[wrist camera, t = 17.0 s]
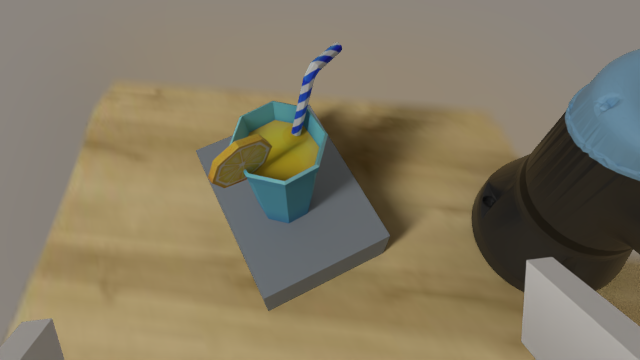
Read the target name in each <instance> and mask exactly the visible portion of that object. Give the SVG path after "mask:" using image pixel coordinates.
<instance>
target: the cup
mask: <svg viewBox="0 0 640 360" xmlns="http://www.w3.org/2000/svg"><path fill="white" fill-rule="evenodd" d="M341 50H342V46H341V45H340V44H339V43H336V42H335V43H334V44H333V45H332V46H330V47H329V48H328V49H327V50H326V51H324V52H323V53H322V54H321V55H320V56H318V57H317V58H316V59H315V60H313V61H312V62H311V64H310V65H309V67H308V69H307V72H306V74H305V76H304V78H303V83H302V87H301V92H300V96H299V100H298V105H297V106H296V105H291V104H286V103H281V102H276V101H271V102H269V103H267V104H265V105H263V106H261V107H259V108H257V109H255V110H253V111H251V112H248V113H246V114H244V115H242V116H240V118H239V121H238V123H237V126H236V129H235V131H234V134H233V137H232V139H231V142H230V144H229V146H228V147H227V148H226V149H225V150H224V151H223V152H222V153H221V154H219V155H218V156H217V157H216V158H215V159H214V160H213V162H212V165H211V168H210V172H209V175H208V179H209V180H210V181H211V183H212V184H215V185H217V186H220V187H223V188H227V187H229V186H232V185H234V184H237V183H239V182H242V181H244V180H246V179H247V180H248V182H249V184H250V186H251V188H252V190H253V192H254V194H255V196H256V199H257V201H258V203H259V204H260V206H261V208H262V209H263V211H264V212H265V214H266V216H267V217H268V219H271V220H276V221H280V222H285V223H291V222H293V221H295V220H296V219H298V218H300V217H302V216H303V215H305V214H307V213H308V210H309V206H310V202H311V198H312V195H313V190H314V184H315V179H316V174H317V172H318V169H319V166H320V162H321V158H322V155H323V151H324V147H325V143H326V140H327V136H328V134H327V133H326V131H325V130H324V128H323V127H322V126H321V124H320V123H319V122H318V120H317V119H316V118H315V116H314V115H313V114H312V112H311V111H310V110H309V108H307V106H308V102H309V98H310V94H311V90H312V86H313V82H314V79H315V76H316V75H317V73H318V72H319V70H321V69H322V68H323V67H324V66H325V65H326V64H327V63H328V62H330V61H331V60H332V59H333V58H334V57H335V56H336V55H337V54H339V53H340V52H341Z"/></svg>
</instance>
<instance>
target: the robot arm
mask: <svg viewBox="0 0 640 360" xmlns="http://www.w3.org/2000/svg"><path fill="white" fill-rule="evenodd" d="M472 228H473V233H474V237H475V240H476V243H477V245H478V247H479V249H480V251H481V253H482V255H483V257H484V258H485V260H486V261H487V262H488V264H489V265H490V266H491V267H492V268H493V270H494V271H495V272H496V273H497V274H498V275H499V276H501V277H502V278H503V279H504V280H505V281H507V282H508V283H509V284H511V285H512V286H514V287H516V288H517V289H519V290H521V291H523V292H524V308H523V324H522V340H521V342H522V343H523V344H524V345H525V346H526V348H527V349H528V350H529V351H530V353H531V354H532V355H533V356H534V358H535V359H536V360H640V326H638V325H637V324H636V323H635V322H633V321H632V320H631V319H630V318H628V317H627V316H626V315H625V314H623V313H622V312H621V311H620V310H618V309H617V308H616V307H615V306H613V305H612V304H611V303H610V302H608V301H607V300H606V299H605V298H603V297H602V296H601V295H599V294H598V293H597V292H596V291H597V290H599V289H601V288H602V287H604V286H605V285H607V284H608V283H609V282H611V281H612V280H613V279H614V278H615V277H616V276H617V275H618V273H619V272H620V271H621V269H622V267H623V266H624V264H625V262H626V261H627V259H628V257H629V255H630V254H631V252H632V250H633V249H634V250H635V251H636V252H638V253H639V254H640V49H638V50H635V51H632V52H629V53H627V54H624V55H622V56H620V57H619V58H617V59H615V60H613V61H612V62H610V63H609V64H608V65H607V66H605V67H604V68H603V69H602V70H601V71H600V73H598V75H596V77H595V78H594V79H593V80H592V81H591V82H590V83H589V84H588V85H586V86H585V87H583V88H582V89H581V90H580V91H578V92H577V94H575V96H574V97H573V98H572V100H571V101H570V102H569V106H568V108H567V110H566V112H565V113H564V114H563V115H562V117H561V118H560V119H559V120H558V122H557V123H556V124H555V125H554V127H553V128H552V129H551V130H550V131H549V132H548V134H547V135H546V136H545V137H544V138H543V140H542V141H541V142H540V143H539V144H538V146H537V147H536V148H535V149H534V151H533V152H532V153H531V154H529V155H527V156H524V157H522V158H520V159H517V160H515V161H513V162H510V163H508V164H506V165H504V166H503V167H501V168H500V169H498V170H497V171H496V172H495V173H493V174H492V175H491V176H490V178H489V179H488V180H487V181H486V183H485V184H484V185H483V187H482V188H481V190H480V191H479V193H478V195H477V197H476V199H475V202H474V205H473V210H472ZM0 360H64V357H63V353H62V350H61V347H60V343H59V340H58V337H57V333H56V330H55V327H54V323H53V320H52V318H51V319H43V320H35V321H26V322H22V323H21V324H20V325H19V326H18V327H17V329H16V330H15V331H14V332H13V333H12V334H11V336H10V337H9V338H8V339H7V340H6V341H5V342H4V344H3V345H2V346H1V347H0Z"/></svg>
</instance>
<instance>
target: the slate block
mask: <svg viewBox="0 0 640 360" xmlns="http://www.w3.org/2000/svg"><path fill="white" fill-rule="evenodd" d="M307 108H309V110H310V111H311V112H312V114H313V115H314V116H315V118H316V119H317V120H318V122H319V123H320V121H319V119H318V118H317V116H316V115H315V113H314V111H313V110H312V108H311V107H310V105H308V106H307ZM320 124H321V123H320ZM321 126H322V124H321ZM322 127H323V126H322ZM324 130H325V129H324ZM326 133H327V132H326ZM232 137H233V136H230V137H228V138H225V139H223V140H221V141H218V142H216V143H213V144H211V145H208V146H206V147H203V148H201V149H199V150H196V152H197V155H198V157H199V159H200V162H201V164H202V166H203V169H204V171H205V173H206V175H207V178H208V175H209V172H210V168H211V165H212V162H213V160H214V159H215V158H216V157H217V156H218V155H219V154H221V153H222V152H223V151H224V150H225V149H226V148H227V147H228V146H229V144H230V142H231V139H232ZM208 180H209V179H208ZM209 182H210V184H211V186H212V189H213V191H214V193H215V195H216V197H217V199H218V202H219V204H220V206H221V208H222V210H223V213H224V215H225V217H226V219H227V221H228V224H229V226H230V228H231V230H232V232H233V235H234V237H235V239H236V241H237V243H238V245H239V248H240V250H241V252H242V254H243V256H244V259H245V261H246V263H247V265H248V267H249V270H250V272H251V274H252V276H253V278H254V281H255V283H256V285H257V287H258V289H259V291H260V294H261V296H262V298H263V300H264V302H265V305H266V307H267V309H268V311H270V310H272V309H273V308H275V307H277V306H279V305H281V304H283V303H285V302H287V301H289V300H291V299H293V298H295V297H297V296H299V295H301V294H303V293H305V292H307V291H309V290H311V289H313V288H315V287H317V286H319V285H321V284H323V283H325V282H327V281H329V280H331V279H333V278H335V277H337V276H339V275H341V274H342V273H344V272H346V271H348V270H350V269H352V268H354V267H356V266H358V265H360V264H362V263H364V262H366V261H368V260H370V259H372V258H374V257H376V256H378V255H380V254H382V253H383V252H384V250H385V247H386V245H387V242H388V240H389V238H390V234H389V233H388V231H387V230H386V228H385V226H384V225H383V223H382V222H381V220H380V218H379V217H378V215H377V213H376V212H375V210H374V209H373V207H372V205H371V204H370V202H369V200H368V199H367V197H366V196H365V194H364V192H363V191H362V189H361V188H360V186H359V184H358V183H357V181H356V179H355V178H354V176H353V175H352V173H351V171H350V170H349V168H348V166H347V165H346V163H345V162H344V160H343V158H342V157H341V155H340V154H339V152H338V150H337V149H336V147H335V145H334V144H333V142H332V141H331V139H330V137H329V136H327V140H326V143H325V147H324V151H323V155H322V158H321V162H320V166H319V169H318V172H317V174H316V179H315V184H314V190H313V195H312V198H311V202H310V206H309V210H308V213H307V214H305V215H303V216H302V217H300V218H298V219H296V220H295V221H293V222H291V223H285V222H280V221H276V220H271V219H268V217H267V216H266V214H265V212H264V211H263V209H262V208H261V206H260V204H259V203H258V201H257V199H256V196H255V194H254V192H253V190H252V188H251V186H250V184H249V182H248V180H247V179H246V180H244V181H242V182H239V183H237V184H234V185H232V186H229V187H227V188H223V187H220V186H217V185H215V184H212V183H211V181H210V180H209Z"/></svg>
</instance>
